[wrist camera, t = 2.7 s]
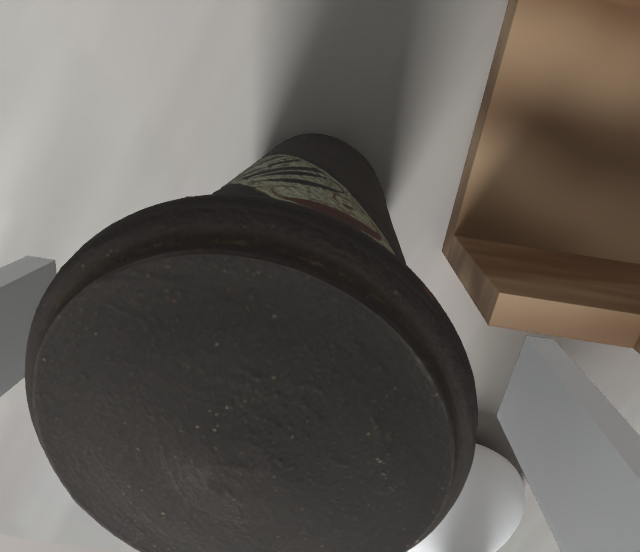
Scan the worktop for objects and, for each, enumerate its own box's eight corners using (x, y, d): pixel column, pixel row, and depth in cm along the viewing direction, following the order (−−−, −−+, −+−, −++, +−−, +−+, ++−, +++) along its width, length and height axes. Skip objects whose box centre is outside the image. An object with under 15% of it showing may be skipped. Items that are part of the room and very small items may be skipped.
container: (356, 104, 23) (380, 100, 5) (410, 246, 26) (556, 589, 8) (221, 167, 25) (-142, 343, 7) (286, 294, 28) (160, 664, 9)
